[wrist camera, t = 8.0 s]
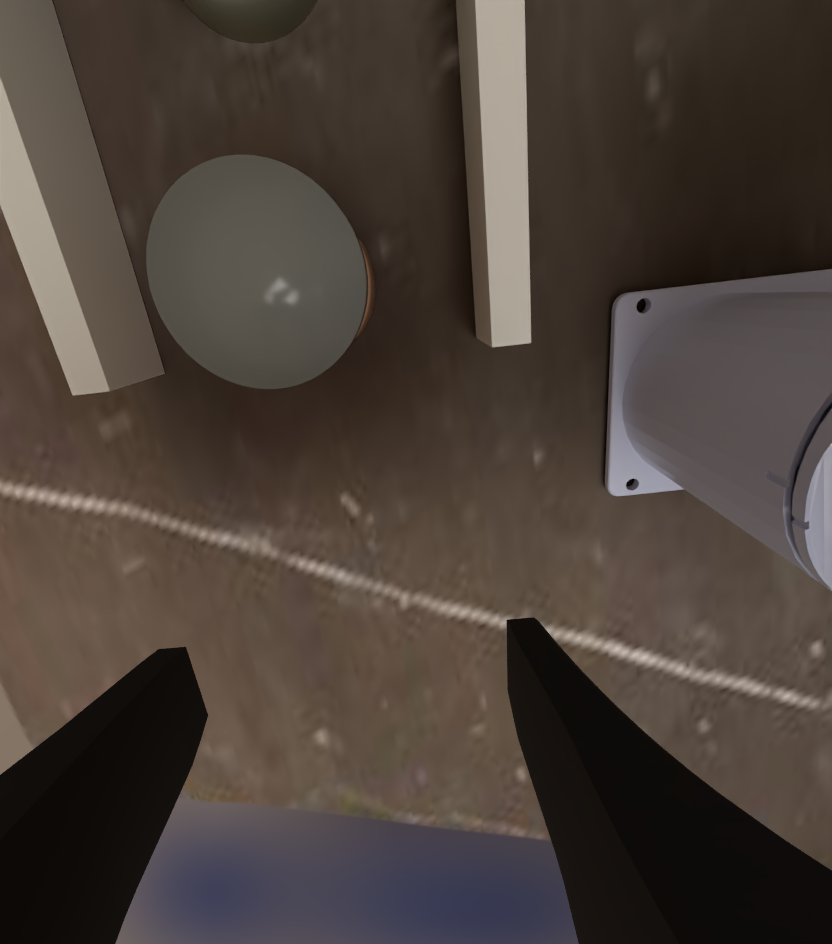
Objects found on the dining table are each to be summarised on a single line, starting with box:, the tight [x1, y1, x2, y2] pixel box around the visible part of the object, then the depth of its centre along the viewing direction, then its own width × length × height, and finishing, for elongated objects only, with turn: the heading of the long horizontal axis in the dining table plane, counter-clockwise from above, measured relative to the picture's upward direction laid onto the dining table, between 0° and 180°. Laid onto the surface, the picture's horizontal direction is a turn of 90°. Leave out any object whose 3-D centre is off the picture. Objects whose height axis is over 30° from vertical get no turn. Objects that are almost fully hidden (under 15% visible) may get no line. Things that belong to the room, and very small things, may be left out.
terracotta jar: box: [146, 155, 376, 389], centre depth 14 cm, size 5×5×6 cm
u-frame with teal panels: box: [0, 0, 531, 396], centre depth 13 cm, size 14×19×4 cm
